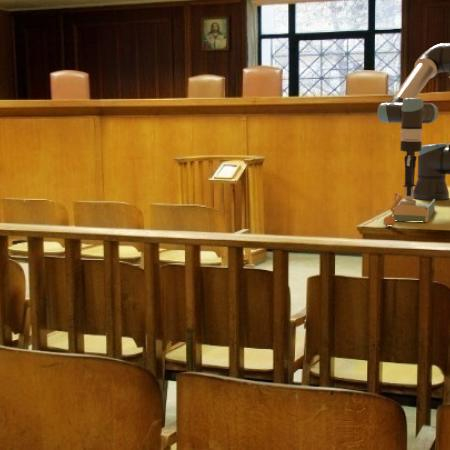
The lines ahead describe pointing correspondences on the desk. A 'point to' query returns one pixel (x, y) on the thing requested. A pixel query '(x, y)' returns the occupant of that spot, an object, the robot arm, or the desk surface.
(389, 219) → the figurine
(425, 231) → the desk surface
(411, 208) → the box
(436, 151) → the robot arm
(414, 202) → the birch block
